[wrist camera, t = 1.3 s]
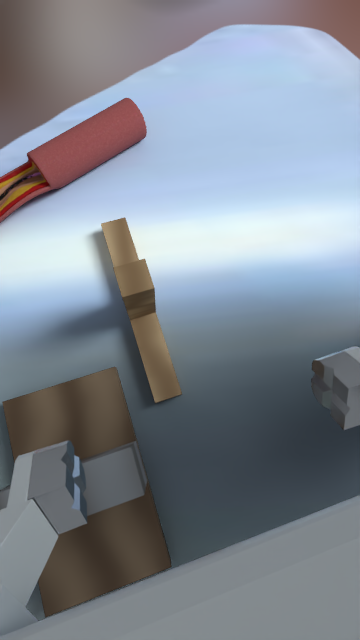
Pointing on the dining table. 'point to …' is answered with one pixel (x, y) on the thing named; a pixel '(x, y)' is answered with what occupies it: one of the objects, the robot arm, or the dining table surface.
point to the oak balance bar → (141, 309)
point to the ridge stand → (92, 488)
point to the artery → (72, 154)
